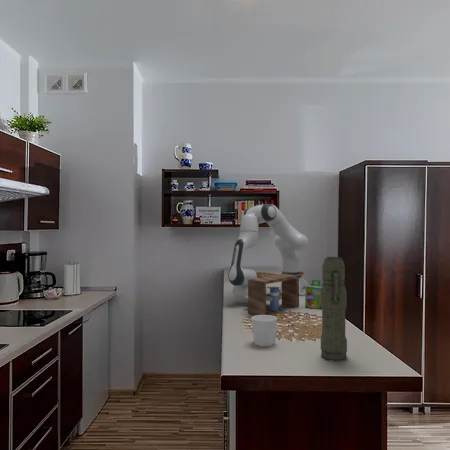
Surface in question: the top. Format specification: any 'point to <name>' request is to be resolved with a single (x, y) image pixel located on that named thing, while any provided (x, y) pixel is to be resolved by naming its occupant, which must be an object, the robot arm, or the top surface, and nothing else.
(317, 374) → the top surface
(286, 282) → the riser
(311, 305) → the chalk box
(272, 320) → the cup
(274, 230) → the robot arm
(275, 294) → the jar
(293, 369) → the top surface
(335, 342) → the thermos
